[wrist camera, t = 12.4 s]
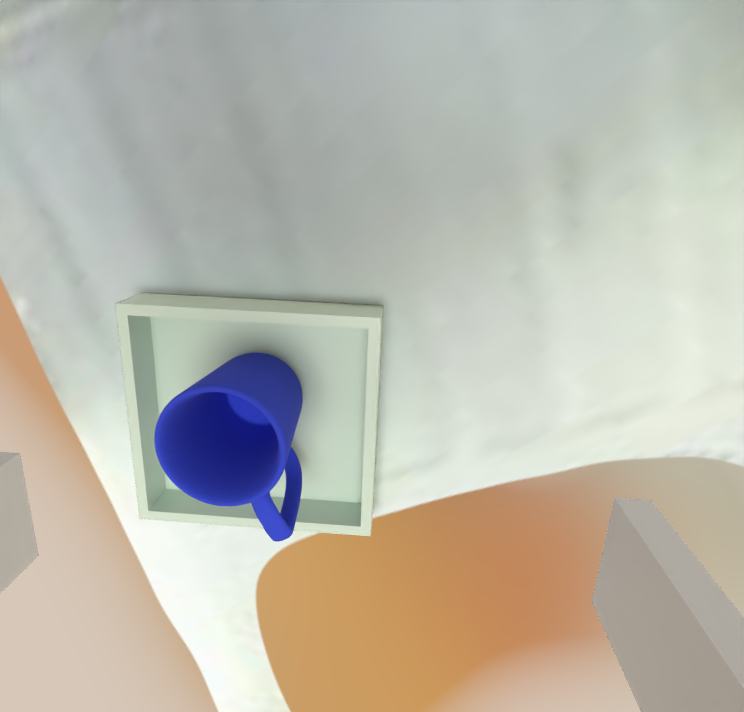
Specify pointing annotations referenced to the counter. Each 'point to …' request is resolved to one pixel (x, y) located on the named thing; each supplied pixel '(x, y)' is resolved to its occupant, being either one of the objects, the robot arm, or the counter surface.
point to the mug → (237, 439)
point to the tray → (314, 371)
